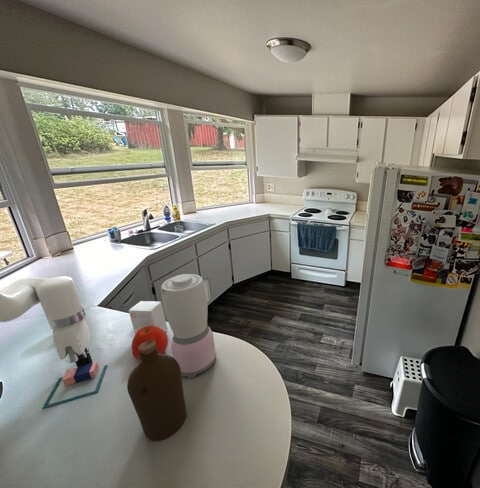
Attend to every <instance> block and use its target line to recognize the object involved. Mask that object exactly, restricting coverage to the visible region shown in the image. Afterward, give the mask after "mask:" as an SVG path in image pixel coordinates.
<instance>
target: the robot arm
mask: <svg viewBox="0 0 480 488" xmlns="http://www.w3.org/2000/svg"><path fill="white" fill-rule="evenodd" d="M80 298H81V297H80V295H79V292H78V289H77V286H76V283H75V281H74V279H73V278H72V277H69V276H66V275H65V276H64V275H63V276H55V277H50V278H49V277H48V278H46V277H45V278H44V277H25V278H19V279H18V280H15V281H13V282H12V283H10V284H8V285H7V286H5V287H3V288H2V289H0V323H6V322H11V321H14V320H16V319H18V318H20V317H21V316H23V315H24V314H25V313H27V312H28V311H29V310H30V309H32V308H33V307H34V306H36V305H38V304H40V306H41V308H42V310H43V313H44V315H45V317H46V320H47V322H48V325H49V327H50V329H51V330H52V335H53V341H54V344H55V348H56V352H57V354H58V357H59V360H66V358H67V357H68V358H69V359H68V360H69V362H70V364H72V363H75V366H76V368H77V367H79V366H83V365H87V364H91V363H93V359H92V356H91V353H90V349H89V342H90V340H91V337H92V334H91V330H90V327H89V324H88V322H87V319H86V318H87V315H86V312H85V309H84V306H83V304H82V301H81V299H80ZM85 319H86V320H85Z"/></svg>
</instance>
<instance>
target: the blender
mask: <svg viewBox="0 0 480 488" xmlns="http://www.w3.org/2000/svg"><path fill="white" fill-rule="evenodd" d="M160 293H161V299H162V306H163V311H164V315H165V319H166V321H167V322H168V325H169V327H170V329H171V331H172V334H173V335H172V338H171V342H170V351H171V355H172V357H173V358H174V359H175V360H176V361H177V362H178V364H179V366H180V370H181V376H185V377H187V379H194V378H196V375H198V374H201V373H203V372H205V371H206V370H208V369H209V368H211V367H212V366H213V364H214V363H215V361H217V353H216V346H215V345H216V344H215V337H214V333H213V330H212V329H211V327H210V326H209V325H208V314H209V313H208V309H209V308H208V304H209V303H210V302H211V300H212V287H211V281H210V278H209V277H208V276H205V275H203V276H201V275H198V274H195V273H181V274H177V275H175V276H172V277H170V278H168V279H166V280H165V281H164V282H163V283H162V284H161V286H160Z"/></svg>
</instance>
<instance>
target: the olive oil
mask: <svg viewBox="0 0 480 488" xmlns="http://www.w3.org/2000/svg"><path fill="white" fill-rule="evenodd" d="M138 349H139V355H140V358H141V361H139V362H138V363H137V364H136V365H135V366H134V368H133V369H132V370H131V371H130V373H129V376H128V380H127V385H126V388H127V389H126V390H127V393H128V396H129V398H130V400H131V403H132V405H133V407H134V411H136V412H135V413H136V415H137V417H138V420H139V422H140V425H141V428H142V430H143V433H144V436H145V437H146V438H147V439H148V440H150V441H153V442H158V441H163V440H165V439H168V438H170V437H171V436H172V435H174V434H175V433H177V432H178V431H179V430H180V429H181V428H182V426H183V425H184V423H185V421H186V419H187V407H186V401H185V393H184V386H183V378H182V375H181V370H180V366H179V364H178V362H177V361H176V360H175V359H174V358H173V355H172V356H171V355H170V354H165V353H163V354H159V353H158V350H157V346H156V344H155V342H154V341H146V342H144V343H142V344H141V345H140V346H139V348H138Z"/></svg>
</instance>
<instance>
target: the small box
mask: <svg viewBox="0 0 480 488" xmlns="http://www.w3.org/2000/svg"><path fill="white" fill-rule="evenodd" d="M128 313H129V317H130V321H131V324H132V329H133V331H134V332H133V333H134V335H135V334H136V333H137V331H138V330H140V329H141V328H143V327H146V326H152V325H153V326H156V327H159V328H161V329H162V330H163V331H165V332H166V333H167V331H168V325H167V319H166V315H165V311H164V306H163V302H162V301H152V300H151V301H150V300H149V301H148V300H140V301H139V302H138V303H136V304H135V305H134V306H132V307H130V309H129V310H128Z"/></svg>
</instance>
